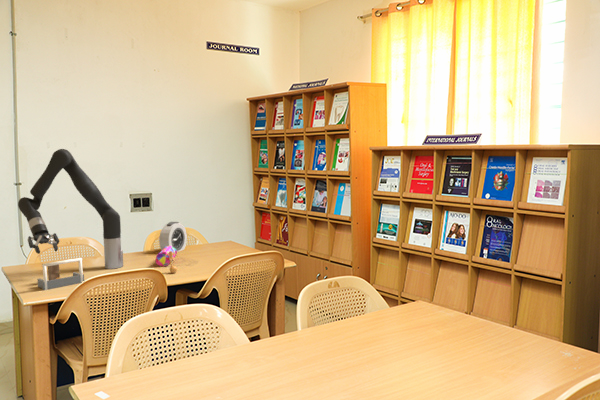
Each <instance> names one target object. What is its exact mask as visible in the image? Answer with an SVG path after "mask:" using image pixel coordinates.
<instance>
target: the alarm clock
mask: <svg viewBox="0 0 600 400" xmlns="http://www.w3.org/2000/svg"><path fill="white" fill-rule="evenodd" d="M187 241H188V235H187V229H186V227H185V226H184V225H183V224H182V223H179V222H178V221H170V222H168V223H165V224H164V225H163V226H162V228H161V230H160V233H159V239H158V242H159V247H160V250H161V251H162V250H163V249H164V248H165V247H166V246H172V247H174V248H175V249H176V250H177V253H178V252H181V251H184V250H185V248H186V246H187Z"/></svg>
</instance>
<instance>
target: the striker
mask: <svg viewBox="0 0 600 400" xmlns="http://www.w3.org/2000/svg"><path fill="white" fill-rule="evenodd" d="M56 278H61V276H60V264H59V265H53V266H47V280H48V281H49V280H54V279H56Z"/></svg>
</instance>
